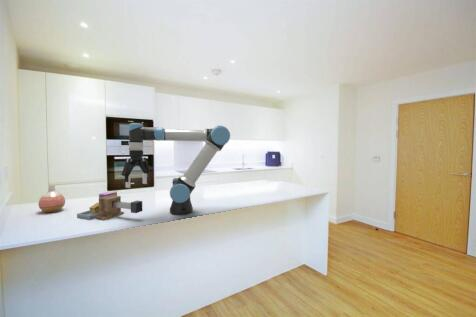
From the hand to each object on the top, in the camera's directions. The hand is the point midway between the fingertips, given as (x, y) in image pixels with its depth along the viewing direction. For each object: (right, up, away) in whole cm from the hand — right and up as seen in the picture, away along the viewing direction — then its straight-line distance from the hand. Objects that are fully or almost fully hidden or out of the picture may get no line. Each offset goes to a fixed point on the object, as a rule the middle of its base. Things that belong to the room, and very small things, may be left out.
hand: (136, 185), depth 134 cm
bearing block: (-20, -20, +7) cm, 29 cm away
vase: (-63, -19, +16) cm, 67 cm away
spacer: (-28, -16, +9) cm, 33 cm away
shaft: (-11, -15, +4) cm, 19 cm away
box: (-29, -19, +22) cm, 41 cm away
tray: (-30, -20, +8) cm, 37 cm away
